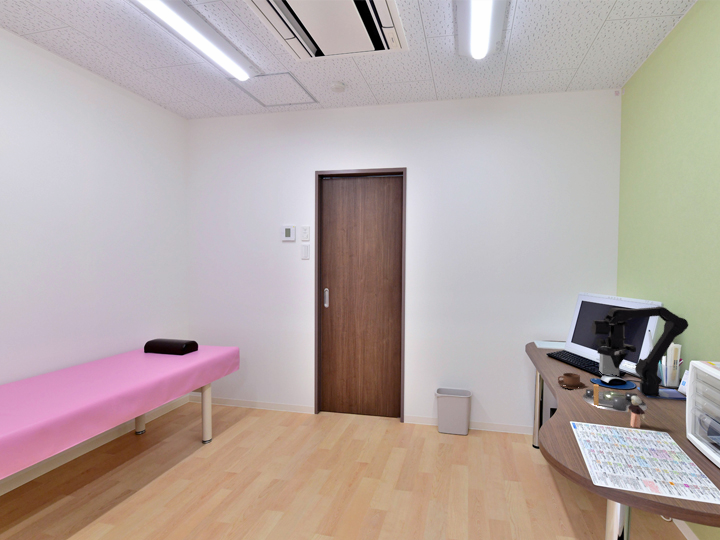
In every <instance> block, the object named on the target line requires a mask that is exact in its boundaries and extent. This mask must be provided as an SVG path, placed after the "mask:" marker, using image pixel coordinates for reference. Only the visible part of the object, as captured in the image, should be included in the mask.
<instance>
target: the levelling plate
mask: <svg viewBox="0 0 720 540" xmlns="http://www.w3.org/2000/svg"><path fill="white" fill-rule="evenodd" d="M632 396H638V394H637V393H634V392H632V391H631V392H629V391H628V392H625V394H624V393H622V392H620V391H614V390H605V391H599V399H605V400H612V401H613V397H622V398H625V399H627V410H628V407H629V406H630V405H631V404H632V399H631V397H632ZM582 400H583V401H584V402H586V403H588V404H590V405H591V406H594V407H597V408H600V409H604V410H607V411H615V412H622V413H629V412H628V411H627V410H617V409H614V408H613V406H612V405H606V404H599V405H598V406H597V405H594V388H593V389H592V388H587V389H585V393H584V394H583V395H582ZM638 406H639V407H640V408H641V409H642V410H643V411H646V410H647V409H648V405H647V404H646V403H645V402H644V401H642V403H640V404H639V405H638Z"/></svg>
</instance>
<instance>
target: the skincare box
mask: <svg viewBox="0 0 720 540" xmlns="http://www.w3.org/2000/svg"><path fill="white" fill-rule="evenodd" d="M607 348H610V347H607ZM598 363H599V365H598V367H599V369H598V372H599V371H600V372H601V373H602V374H613V375H617V376H619V377H620V366H619V367H618V368H615V366H614V363H613V361H612V358H611V356H607V355H603V354H599V362H598ZM600 372H599V373H600ZM601 373H600V374H601ZM602 374H601V375H602Z"/></svg>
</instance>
